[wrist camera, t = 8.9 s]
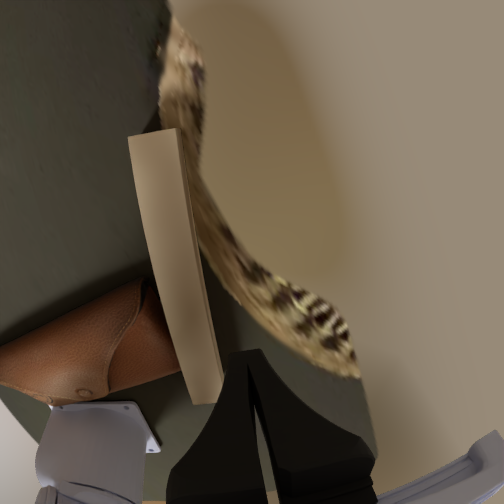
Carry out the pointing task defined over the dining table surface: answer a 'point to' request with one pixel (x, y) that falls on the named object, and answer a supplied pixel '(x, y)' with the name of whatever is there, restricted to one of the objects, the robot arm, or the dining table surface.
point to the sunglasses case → (93, 349)
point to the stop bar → (177, 258)
